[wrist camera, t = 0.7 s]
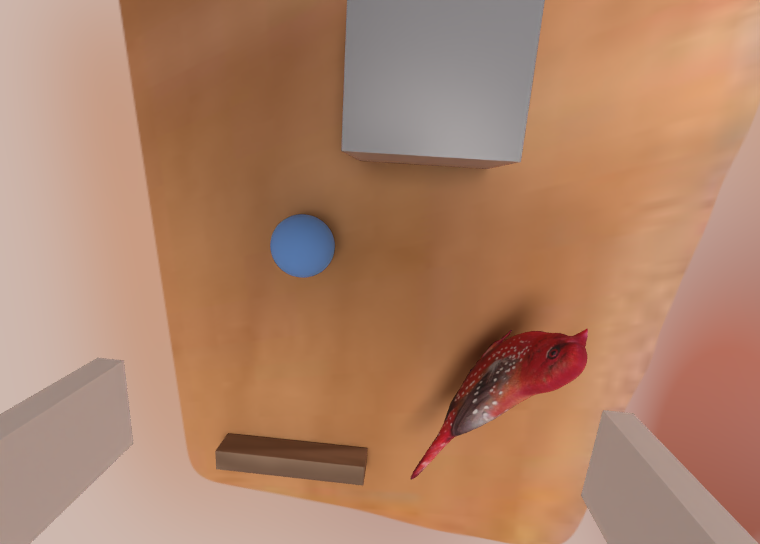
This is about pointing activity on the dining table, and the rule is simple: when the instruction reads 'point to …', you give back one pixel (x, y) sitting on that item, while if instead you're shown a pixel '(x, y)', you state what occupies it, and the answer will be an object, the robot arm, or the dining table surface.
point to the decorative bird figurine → (509, 381)
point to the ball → (302, 245)
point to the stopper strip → (292, 459)
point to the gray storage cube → (439, 80)
